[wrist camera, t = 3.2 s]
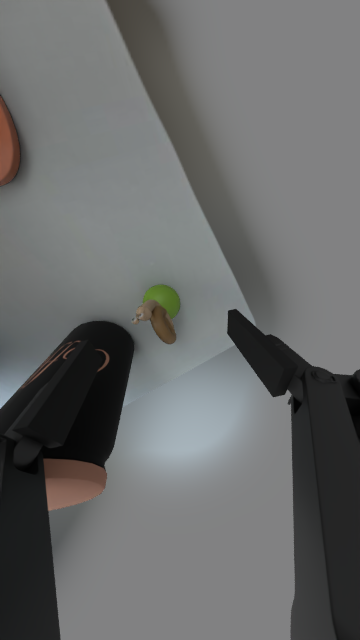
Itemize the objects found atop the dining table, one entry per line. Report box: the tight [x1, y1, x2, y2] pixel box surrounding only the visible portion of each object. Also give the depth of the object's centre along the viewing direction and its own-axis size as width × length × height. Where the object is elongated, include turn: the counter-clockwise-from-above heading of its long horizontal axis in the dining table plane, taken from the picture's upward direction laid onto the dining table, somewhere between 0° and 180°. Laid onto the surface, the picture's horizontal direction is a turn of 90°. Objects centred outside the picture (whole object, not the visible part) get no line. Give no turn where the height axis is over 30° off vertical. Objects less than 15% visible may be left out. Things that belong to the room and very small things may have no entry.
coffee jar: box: [0, 321, 134, 511], centre depth 18 cm, size 11×11×18 cm
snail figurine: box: [132, 285, 180, 344], centre depth 17 cm, size 5×6×12 cm
